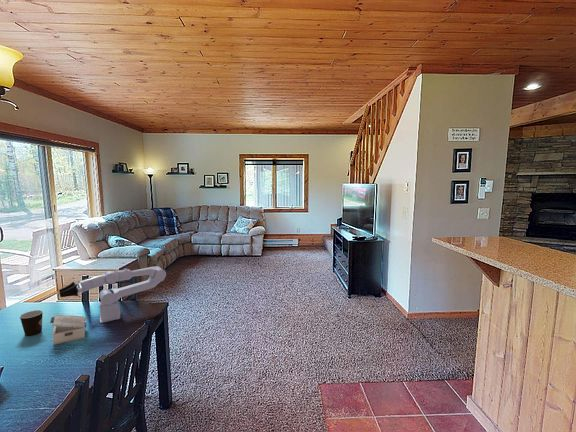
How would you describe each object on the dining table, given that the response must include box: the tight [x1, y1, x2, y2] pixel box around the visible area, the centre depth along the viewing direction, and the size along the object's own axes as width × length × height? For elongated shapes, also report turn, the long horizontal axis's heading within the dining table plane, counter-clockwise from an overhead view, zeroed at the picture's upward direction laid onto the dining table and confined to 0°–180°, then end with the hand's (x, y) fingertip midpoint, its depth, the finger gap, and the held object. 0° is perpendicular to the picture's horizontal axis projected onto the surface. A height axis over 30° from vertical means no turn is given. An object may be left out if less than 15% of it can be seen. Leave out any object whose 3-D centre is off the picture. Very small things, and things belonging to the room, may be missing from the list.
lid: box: [49, 313, 85, 328], centre depth 147 cm, size 14×12×1 cm
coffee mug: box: [19, 309, 44, 337], centre depth 151 cm, size 12×9×10 cm
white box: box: [52, 316, 87, 346], centre depth 148 cm, size 13×15×5 cm
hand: (59, 293), depth 150 cm, fingers open, 7 cm apart
